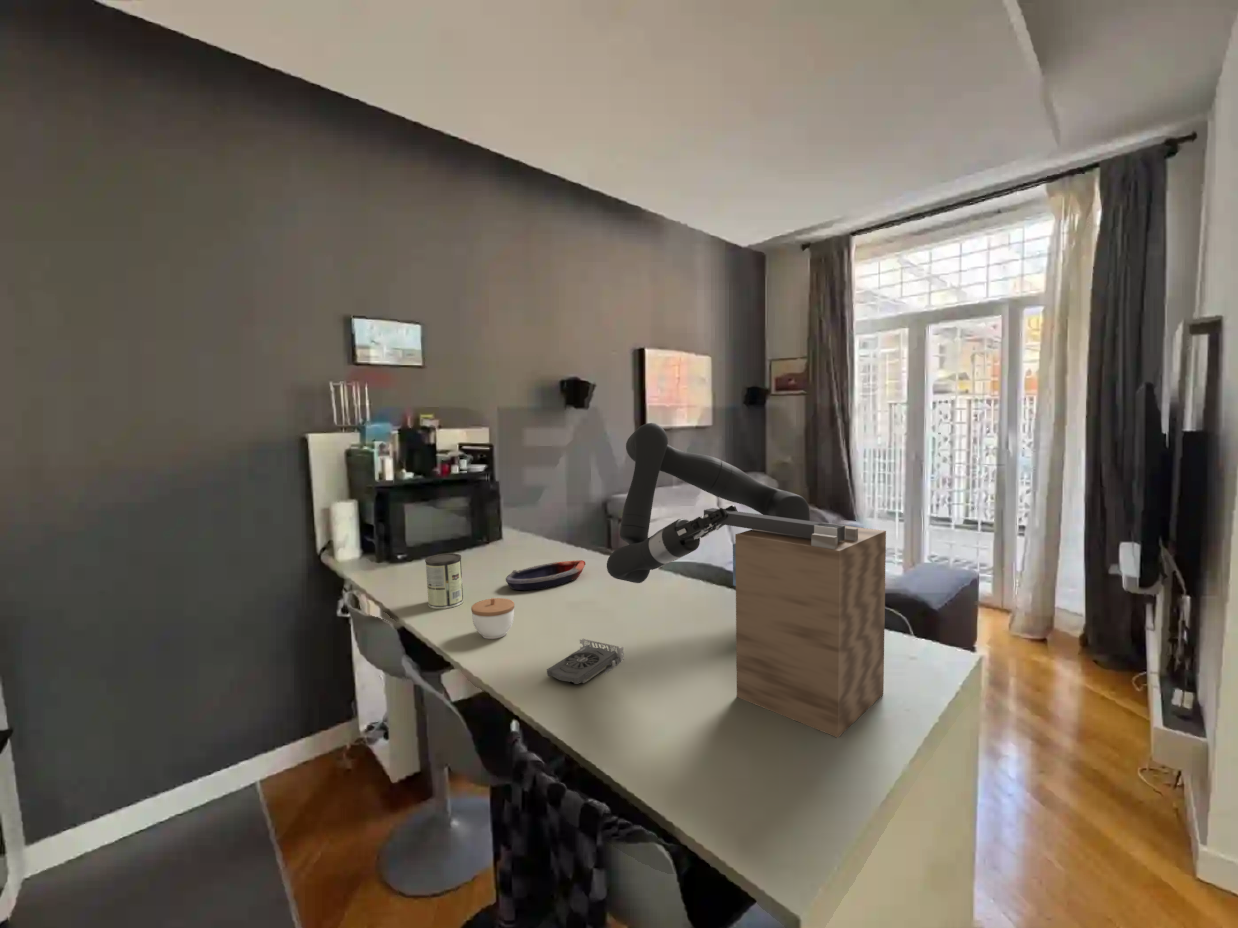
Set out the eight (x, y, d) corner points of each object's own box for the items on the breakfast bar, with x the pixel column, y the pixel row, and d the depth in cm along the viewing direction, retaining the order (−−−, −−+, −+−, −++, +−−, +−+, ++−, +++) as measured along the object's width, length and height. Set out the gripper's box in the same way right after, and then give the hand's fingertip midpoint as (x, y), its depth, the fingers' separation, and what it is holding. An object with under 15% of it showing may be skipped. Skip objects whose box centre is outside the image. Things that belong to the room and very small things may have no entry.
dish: (496, 586, 183) (495, 571, 183) (574, 568, 202) (573, 555, 201) (518, 597, 171) (518, 582, 170) (599, 577, 190) (598, 563, 189)
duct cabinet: (785, 661, 122) (785, 509, 119) (883, 693, 107) (886, 520, 104) (734, 695, 108) (732, 523, 105) (837, 737, 93) (839, 538, 90)
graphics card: (582, 636, 132) (624, 645, 125) (583, 651, 132) (625, 661, 125) (534, 664, 118) (578, 676, 111) (535, 681, 118) (579, 694, 111)
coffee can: (436, 597, 172) (434, 553, 171) (468, 597, 171) (466, 553, 170) (421, 609, 162) (418, 561, 161) (455, 609, 161) (453, 562, 160)
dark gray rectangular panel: (713, 519, 116) (713, 507, 116) (845, 539, 96) (845, 525, 96) (703, 521, 114) (703, 510, 114) (836, 542, 94) (836, 528, 94)
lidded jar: (491, 646, 134) (489, 608, 134) (463, 636, 141) (462, 600, 140) (524, 631, 143) (522, 596, 142) (496, 623, 149) (495, 589, 149)
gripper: (645, 531, 119) (701, 497, 107) (686, 521, 128) (742, 489, 117) (659, 564, 116) (717, 533, 105) (700, 551, 126) (757, 522, 115)
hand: (730, 510), depth 111 cm, fingers closed on dark gray rectangular panel, 3 cm apart
